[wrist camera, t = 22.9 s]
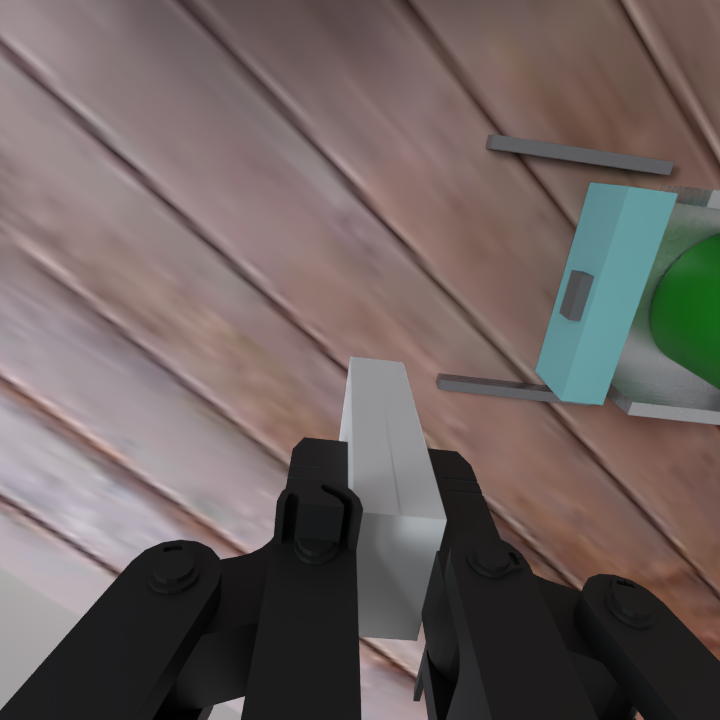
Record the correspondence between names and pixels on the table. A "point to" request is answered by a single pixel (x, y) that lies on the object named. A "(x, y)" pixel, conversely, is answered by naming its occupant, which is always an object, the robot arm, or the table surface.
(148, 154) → the table surface
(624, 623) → the robot arm
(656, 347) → the tray
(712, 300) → the motor
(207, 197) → the table surface
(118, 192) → the table surface
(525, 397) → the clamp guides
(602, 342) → the bar
